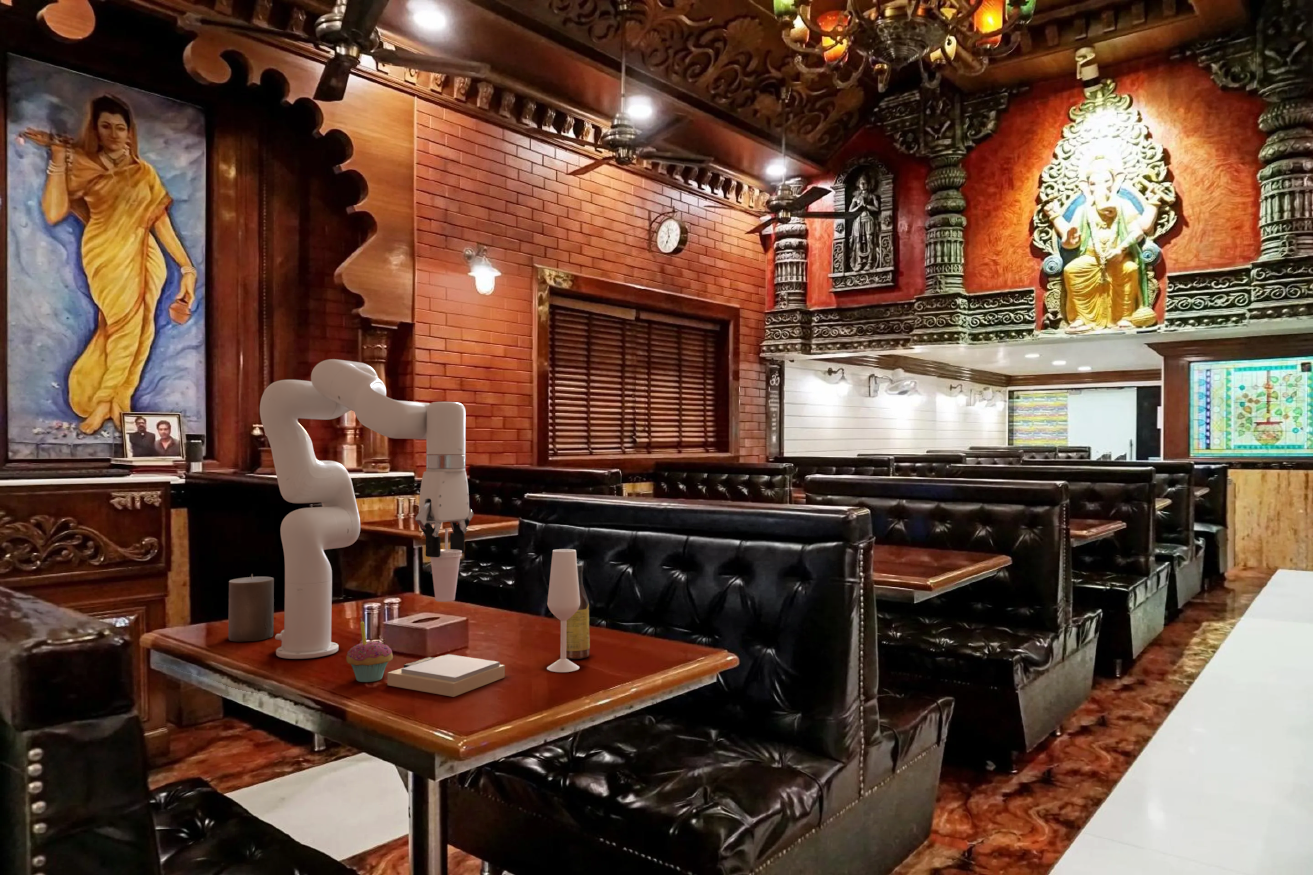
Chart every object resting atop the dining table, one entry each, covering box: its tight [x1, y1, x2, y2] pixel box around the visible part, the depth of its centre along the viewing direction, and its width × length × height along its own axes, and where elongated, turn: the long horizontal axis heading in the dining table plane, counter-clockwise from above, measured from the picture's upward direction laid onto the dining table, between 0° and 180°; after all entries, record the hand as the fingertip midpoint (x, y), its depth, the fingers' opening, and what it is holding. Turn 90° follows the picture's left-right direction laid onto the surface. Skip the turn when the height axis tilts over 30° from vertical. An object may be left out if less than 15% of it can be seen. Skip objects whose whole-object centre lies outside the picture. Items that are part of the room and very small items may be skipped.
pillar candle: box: [227, 573, 275, 643], centre depth 196 cm, size 10×10×15 cm
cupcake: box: [346, 617, 394, 683], centre depth 161 cm, size 9×8×12 cm
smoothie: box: [429, 528, 463, 603], centre depth 164 cm, size 6×6×14 cm
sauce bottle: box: [559, 563, 591, 660], centre depth 180 cm, size 7×6×20 cm
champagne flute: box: [546, 548, 580, 673], centre depth 170 cm, size 7×7×24 cm
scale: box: [386, 653, 506, 698], centre depth 159 cm, size 16×15×3 cm
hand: (445, 554), depth 164 cm, fingers closed on smoothie, 6 cm apart
